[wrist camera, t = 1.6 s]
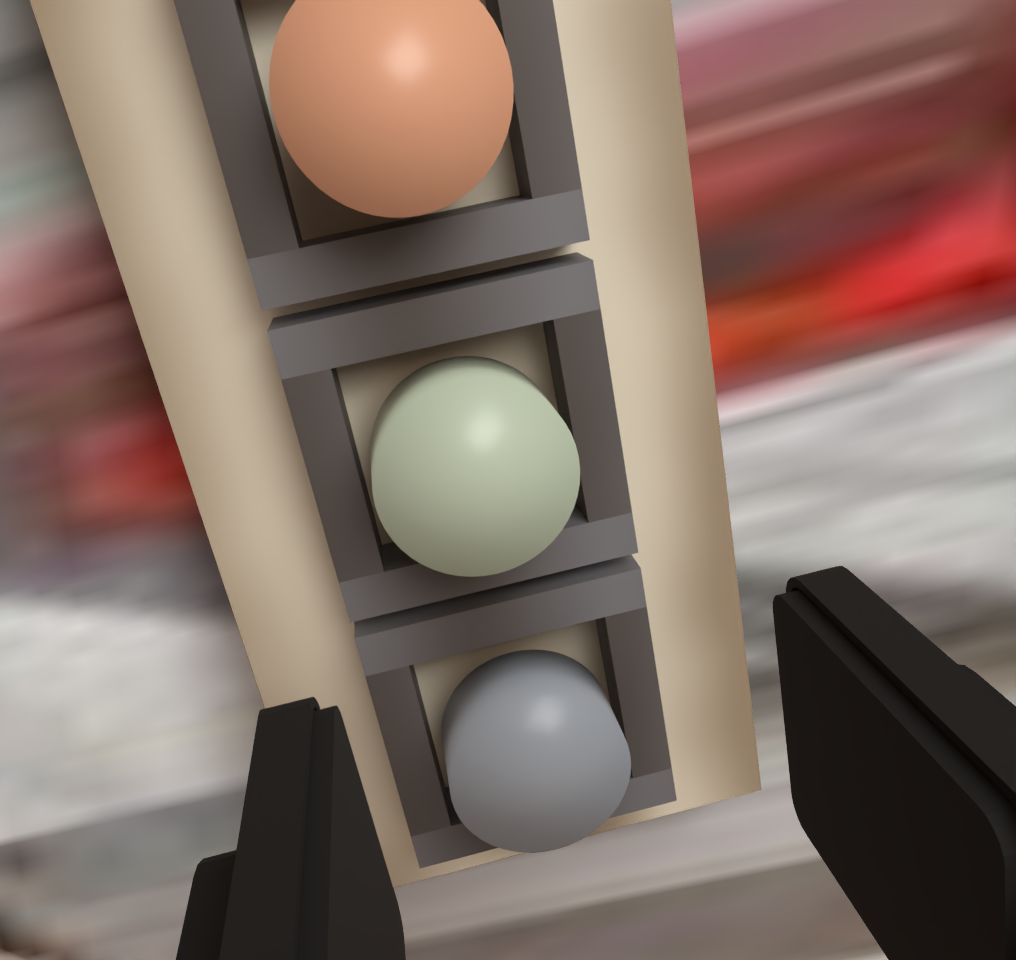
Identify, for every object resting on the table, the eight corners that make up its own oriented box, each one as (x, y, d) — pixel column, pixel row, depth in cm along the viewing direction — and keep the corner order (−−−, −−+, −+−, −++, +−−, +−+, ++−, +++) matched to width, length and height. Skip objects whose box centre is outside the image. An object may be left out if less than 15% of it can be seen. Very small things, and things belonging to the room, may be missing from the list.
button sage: (541, 336, 20) (561, 357, 18) (573, 513, 21) (595, 550, 19) (348, 380, 19) (348, 405, 17) (394, 556, 21) (399, 597, 19)
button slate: (594, 631, 22) (617, 676, 20) (619, 771, 23) (642, 826, 22) (424, 673, 22) (431, 723, 20) (460, 813, 23) (470, 872, 21)
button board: (602, -196, 21) (666, -283, 16) (721, 727, 29) (784, 826, 25) (37, -95, 20) (-49, -159, 15) (332, 828, 28) (329, 949, 24)
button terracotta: (473, -44, 17) (488, -67, 15) (514, 186, 19) (532, 191, 17) (251, -1, 17) (238, -20, 15) (310, 229, 18) (305, 239, 16)
